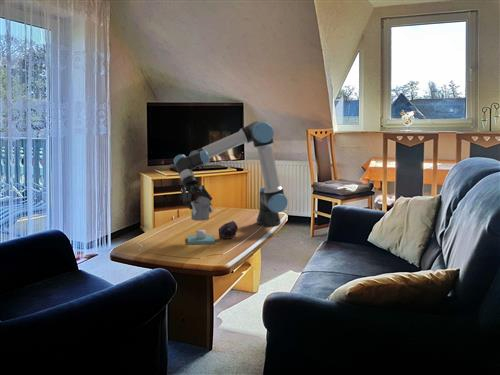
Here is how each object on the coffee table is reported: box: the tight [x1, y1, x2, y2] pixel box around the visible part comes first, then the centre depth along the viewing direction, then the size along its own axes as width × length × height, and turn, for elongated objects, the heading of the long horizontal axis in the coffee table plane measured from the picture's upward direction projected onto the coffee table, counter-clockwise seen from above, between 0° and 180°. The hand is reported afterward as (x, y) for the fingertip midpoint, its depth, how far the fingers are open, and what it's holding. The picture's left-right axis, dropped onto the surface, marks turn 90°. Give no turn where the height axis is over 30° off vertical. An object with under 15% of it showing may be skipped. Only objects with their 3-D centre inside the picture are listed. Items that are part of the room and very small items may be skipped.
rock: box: [218, 220, 239, 240], centre depth 244 cm, size 12×9×10 cm
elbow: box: [191, 195, 212, 222], centre depth 234 cm, size 11×9×12 cm
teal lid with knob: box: [187, 229, 215, 245], centre depth 237 cm, size 14×12×6 cm
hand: (203, 212), depth 232 cm, fingers closed on elbow, 9 cm apart
